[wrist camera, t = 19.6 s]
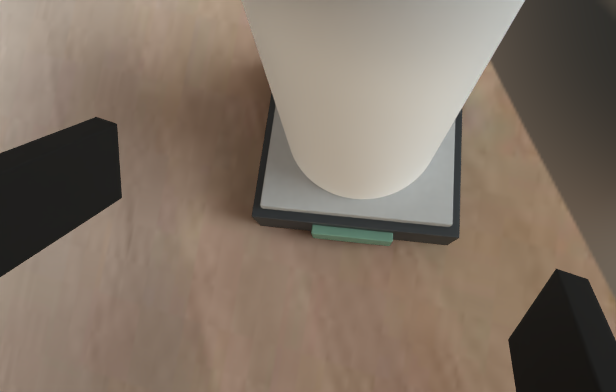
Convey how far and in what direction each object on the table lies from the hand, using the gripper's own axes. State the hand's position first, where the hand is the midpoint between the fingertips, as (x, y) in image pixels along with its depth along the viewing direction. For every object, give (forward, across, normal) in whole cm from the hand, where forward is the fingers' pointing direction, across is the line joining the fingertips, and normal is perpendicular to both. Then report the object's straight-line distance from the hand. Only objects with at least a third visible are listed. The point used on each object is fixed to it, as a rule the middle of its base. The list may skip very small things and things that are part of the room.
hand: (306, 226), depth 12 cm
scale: (+14, 0, -3) cm, 14 cm away
